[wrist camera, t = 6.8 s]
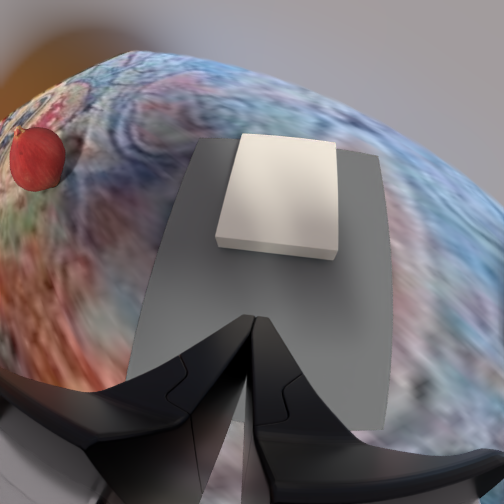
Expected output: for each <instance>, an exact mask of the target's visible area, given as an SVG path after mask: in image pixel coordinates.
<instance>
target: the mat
mask: <svg viewBox="0 0 504 504" xmlns="http://www.w3.org/2000/svg"><path fill="white" fill-rule="evenodd" d="M240 140H241V139H222V138H199V141H198V143H197V145H196V148H195V150H194V153H193V155H192V158H191V160H190V163H189V165H188V168H187V170H186V173H185V175H184V178H183V181H182V183H181V186H180V189H179V191H178V194H177V197H176V200H175V202H174V205H173V208H172V211H171V214H170V217H169V219H168V222H167V225H166V228H165V231H164V234H163V237H162V241H161V244H160V247H159V250H158V253H157V256H156V260H155V263H154V266H153V270H152V273H151V277H150V280H149V284H148V287H147V291H146V295H145V298H144V302H143V306H142V310H141V314H140V318H139V322H138V326H137V330H136V334H135V338H134V343H133V347H132V352H131V357H130V361H129V366H128V371H127V376H126V381H127V380H130V379H132V378H135V377H137V376H139V375H141V374H144V373H146V372H148V371H150V370H152V369H154V368H156V367H158V366H160V365H162V364H164V363H165V362H167V361H169V360H171V359H172V358H174V357H176V356H177V355H179V354H181V353H182V352H184V351H186V350H187V349H189V348H191V347H192V346H194V345H195V344H197V343H199V342H200V341H202V340H203V339H205V338H207V337H208V336H210V335H211V334H213V333H215V332H216V331H218V330H219V329H221V328H222V327H224V326H225V325H227V324H229V323H230V322H232V321H233V320H235V319H236V318H238V317H239V316H241V315H243V314H247V315H254V316H255V317H257V316H262V317H268V318H270V320H271V322H272V323H273V325H274V327H275V328H276V330H277V332H278V333H279V335H280V336H281V338H282V340H283V341H284V343H285V344H286V346H287V348H288V349H289V351H290V353H291V354H292V356H293V357H294V359H295V361H296V362H297V364H298V365H299V367H300V369H301V370H302V372H303V374H304V375H305V376H306V378H307V380H308V381H309V383H310V384H311V386H312V387H313V389H314V390H315V391H316V393H317V394H318V395H319V397H320V398H321V399H322V400H323V401H324V403H325V404H326V405H327V406H328V407H329V408H330V410H331V411H332V412H333V413H334V414H335V415H336V416H337V417H338V419H339V420H340V421H341V422H342V423H343V424H344V425H345V426H346V427H347V428H348V430H349V431H360V430H383V428H384V422H385V415H386V408H387V400H388V391H389V381H390V369H391V355H392V331H393V288H392V264H391V249H390V237H389V227H388V217H387V209H386V201H385V194H384V187H383V181H382V175H381V169H380V164H379V158H378V156H376V155H370V154H365V153H359V152H353V151H347V150H341V149H336V158H337V179H338V252H337V254H336V256H335V258H334V260H325V259H317V258H308V257H300V256H291V255H282V254H274V253H265V252H257V251H248V250H240V249H231V248H223V247H218V244H217V241H216V238H215V234H216V230H217V226H218V222H219V218H220V214H221V210H222V206H223V202H224V199H225V195H226V191H227V187H228V183H229V180H230V176H231V172H232V168H233V165H234V161H235V157H236V154H237V150H238V147H239V143H240ZM246 380H247V377H246ZM245 397H246V381H245V384H244V387H243V390H242V393H241V396H240V399H239V401H238V404H237V407H236V410H235V412H234V415H233V418H232V420H233V421H239V422H245Z"/></svg>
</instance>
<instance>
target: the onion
mask: <svg viewBox="0 0 504 504" xmlns="http://www.w3.org/2000/svg"><path fill="white" fill-rule="evenodd" d="M64 162H65V148H64V146H63V143H62V141H61V139H60V138H59V136H58V135H57V134H56V133H54V132H53V131H51V130H49V129H46V128H40V127H34V128H29V129H23V128H22V127H21V126H18V127H16V128H15V130H14V138H13V142H12V145H11V150H10V170H11V174H12V176H13V179H14V181H15V182H16V183H17V184H18V186H20V187H22V188H23V189H25V190H28V191H33V192H36V191H41V190H45V189H48V188H51V187H55V186H56V185H58V183H59V181H60V178H61V174H62V171H63V166H64Z"/></svg>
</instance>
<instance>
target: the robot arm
mask: <svg viewBox="0 0 504 504" xmlns="http://www.w3.org/2000/svg"><path fill="white" fill-rule="evenodd" d="M246 377H247V380H246ZM245 381H246V397H245V422H244V446H243V470H242V495H241V504H481V503H480V500H479V499H480V498H481V497H482V496H484V495H485V494H486V493H487V492H489V491H490V490H491V489H492V488H493V487H495V486H496V485H497V484H498V483H499V482H500V481H501V480H503V479H504V452H502V451H499V450H493V449H478V450H474V451H471V452H467V453H464V454H459V455H453V456H429V455H421V454H414V453H408V452H402V451H396V450H390V449H385V448H380V447H376V446H371V445H368V444H366V443H364V442H362V441H361V440H359V439H358V438H357V437H355V436H354V435H353V434H352V433H351V432H350V431H349V430H348V428H347V427H346V426H345V425H344V424H343V423H342V422H341V421H340V420H339V419H338V417H337V416H336V415H335V414H334V413H333V412H332V411H331V410H330V408H329V407H328V406H327V405H326V404H325V403H324V401H323V400H322V399H321V398H320V397H319V395H318V394H317V393H316V391H315V390H314V389H313V387H312V386H311V384H310V383H309V381H308V380H307V378H306V376H305V375H304V374H303V372H302V370H301V369H300V367H299V365H298V364H297V362H296V361H295V359H294V357H293V356H292V354H291V353H290V351H289V349H288V348H287V346H286V344H285V343H284V341H283V340H282V338H281V336H280V335H279V333H278V332H277V330H276V328H275V327H274V325H273V323H272V322H271V320H270V318H268V317H262V316H257V317H255V316H254V315H247V314H243V315H241V316H239V317H238V318H236V319H235V320H233V321H232V322H230V323H229V324H227V325H225V326H224V327H222V328H221V329H219V330H218V331H216V332H215V333H213V334H211V335H210V336H208V337H207V338H205V339H203V340H202V341H200V342H199V343H197V344H195V345H194V346H192V347H191V348H189V349H187V350H186V351H184V352H182V353H181V354H179V355H177V356H176V357H174V358H172V359H171V360H169V361H167V362H165V363H164V364H162V365H160V366H158V367H156V368H154V369H152V370H150V371H148V372H146V373H144V374H141V375H139V376H137V377H135V378H132V379H130V380H127V381H125V382H123V383H120V384H118V385H116V386H113V387H111V388H108V389H105V390H102V391H98V392H79V391H75V390H70V389H66V388H62V387H58V386H54V385H50V384H46V383H42V382H39V381H35V380H32V379H28V378H25V377H22V376H19V375H17V374H14V373H12V372H9V371H7V370H5V369H3V368H1V367H0V504H199V502H200V500H201V497H202V494H203V492H204V490H205V487H206V485H207V482H208V480H209V477H210V475H211V472H212V470H213V467H214V465H215V462H216V460H217V457H218V455H219V452H220V450H221V447H222V444H223V442H224V439H225V436H226V434H227V431H228V428H229V426H230V423H231V420H232V418H233V415H234V412H235V410H236V407H237V404H238V401H239V399H240V396H241V393H242V390H243V387H244V384H245Z"/></svg>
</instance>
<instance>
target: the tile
mask: <svg viewBox="0 0 504 504" xmlns="http://www.w3.org/2000/svg"><path fill="white" fill-rule="evenodd" d="M215 238H216V241H217V244H218V247H223V248H231V249H240V250H248V251H257V252H265V253H274V254H282V255H291V256H300V257H308V258H317V259H325V260H334V258H335V256H336V254H337V252H338V179H337V158H336V143H334V142H327V141H320V140H312V139H303V138H294V137H284V136H272V135H259V134H242V136H241V140H240V143H239V147H238V150H237V154H236V157H235V161H234V165H233V168H232V172H231V176H230V180H229V183H228V187H227V191H226V195H225V199H224V202H223V206H222V210H221V214H220V218H219V222H218V226H217V230H216V234H215Z"/></svg>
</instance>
